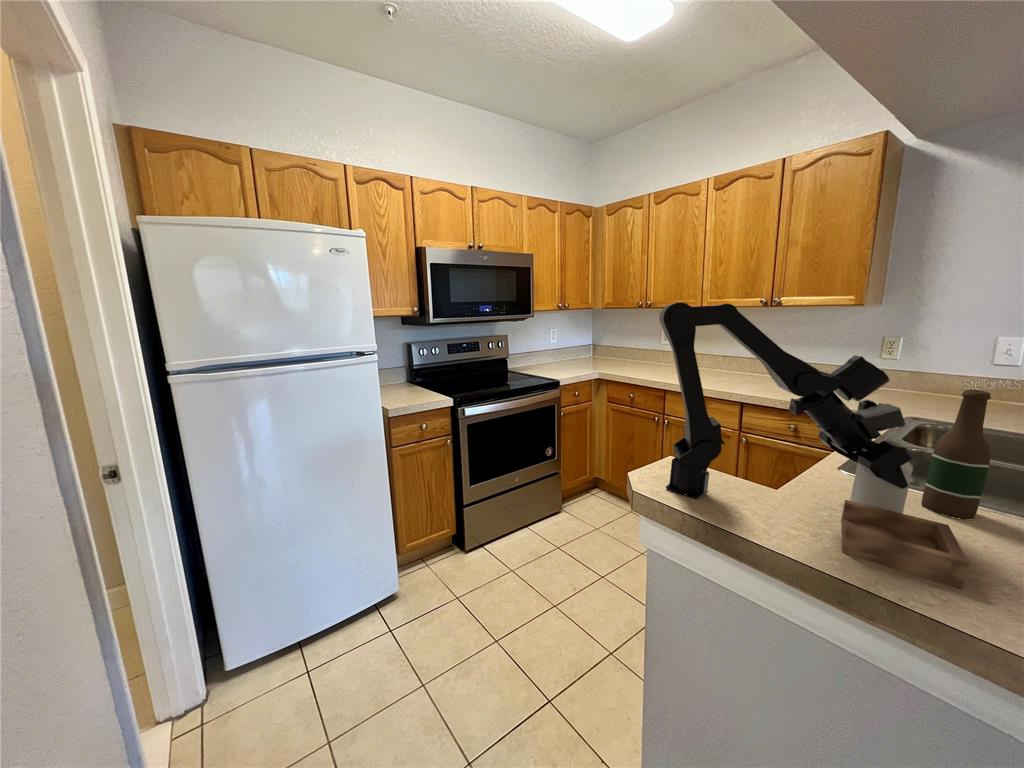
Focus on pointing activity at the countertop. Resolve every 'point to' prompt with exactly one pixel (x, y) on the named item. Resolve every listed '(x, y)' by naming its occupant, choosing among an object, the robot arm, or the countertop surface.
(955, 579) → the brown wooden square tray
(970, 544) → the countertop surface
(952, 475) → the beer bottle
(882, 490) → the can
